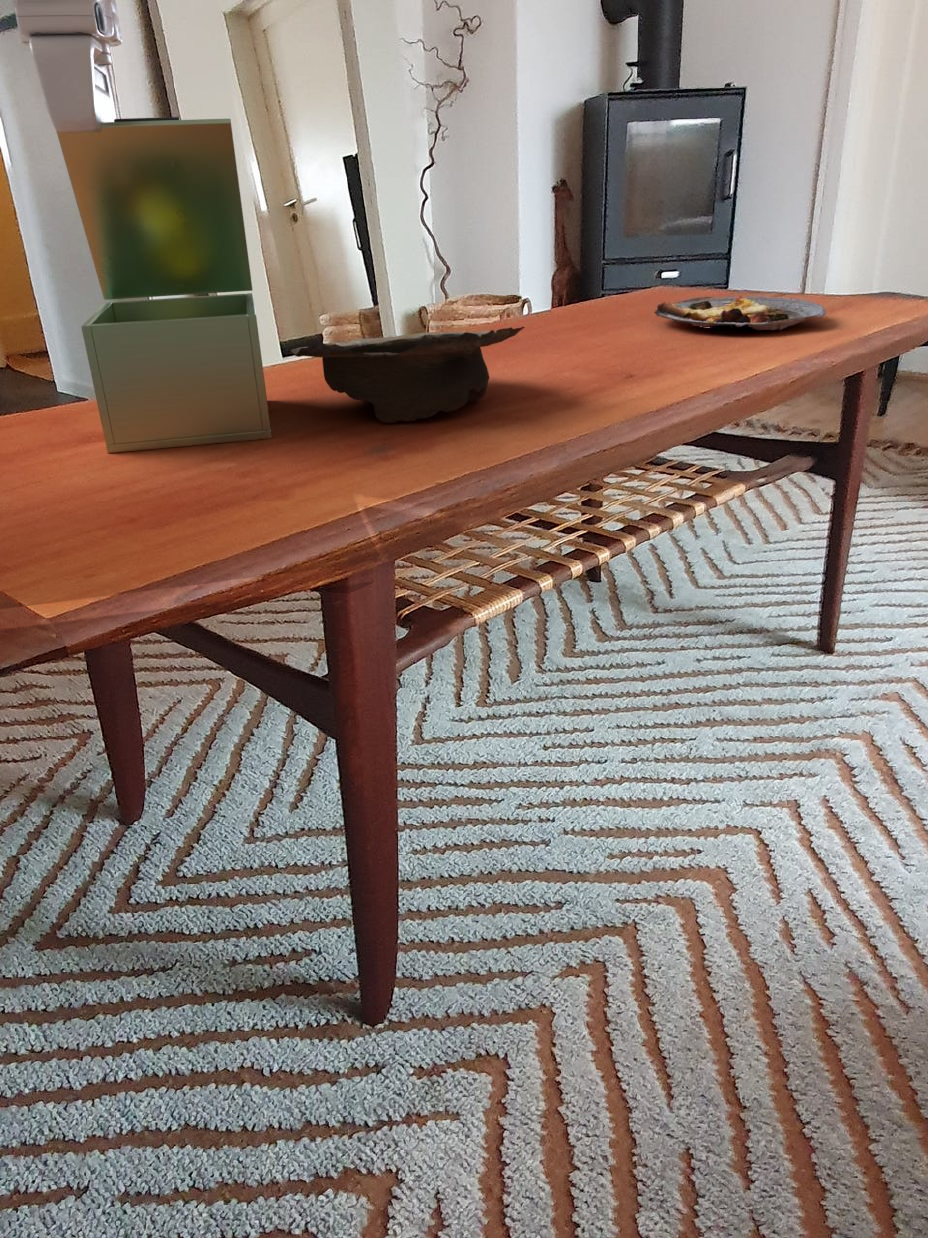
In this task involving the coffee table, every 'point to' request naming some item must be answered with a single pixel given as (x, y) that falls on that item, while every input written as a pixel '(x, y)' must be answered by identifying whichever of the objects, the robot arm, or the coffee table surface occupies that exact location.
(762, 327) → the food plate
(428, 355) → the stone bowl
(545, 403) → the coffee table surface
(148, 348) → the box
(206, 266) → the breadbin lid
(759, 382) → the coffee table surface
